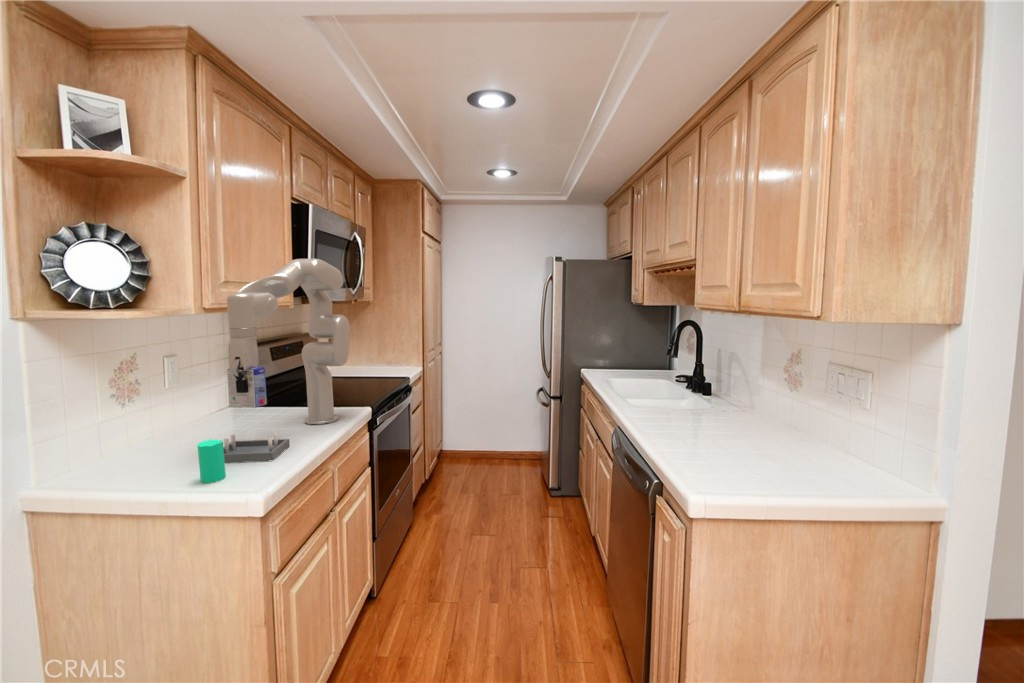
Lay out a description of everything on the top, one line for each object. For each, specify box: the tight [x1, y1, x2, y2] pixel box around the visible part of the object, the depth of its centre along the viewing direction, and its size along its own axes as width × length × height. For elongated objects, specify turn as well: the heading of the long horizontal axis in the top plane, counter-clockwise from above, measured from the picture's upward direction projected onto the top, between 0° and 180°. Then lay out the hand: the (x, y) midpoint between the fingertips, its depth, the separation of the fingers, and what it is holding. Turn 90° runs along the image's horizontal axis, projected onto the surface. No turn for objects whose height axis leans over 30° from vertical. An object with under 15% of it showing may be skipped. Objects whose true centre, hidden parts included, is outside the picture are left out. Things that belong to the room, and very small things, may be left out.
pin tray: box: [223, 432, 291, 464], centre depth 157 cm, size 14×18×6 cm
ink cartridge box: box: [226, 366, 268, 409], centre depth 155 cm, size 10×6×14 cm, turn 79°
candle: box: [197, 438, 227, 484], centre depth 136 cm, size 6×6×12 cm
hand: (247, 389), depth 155 cm, fingers closed on ink cartridge box, 6 cm apart
